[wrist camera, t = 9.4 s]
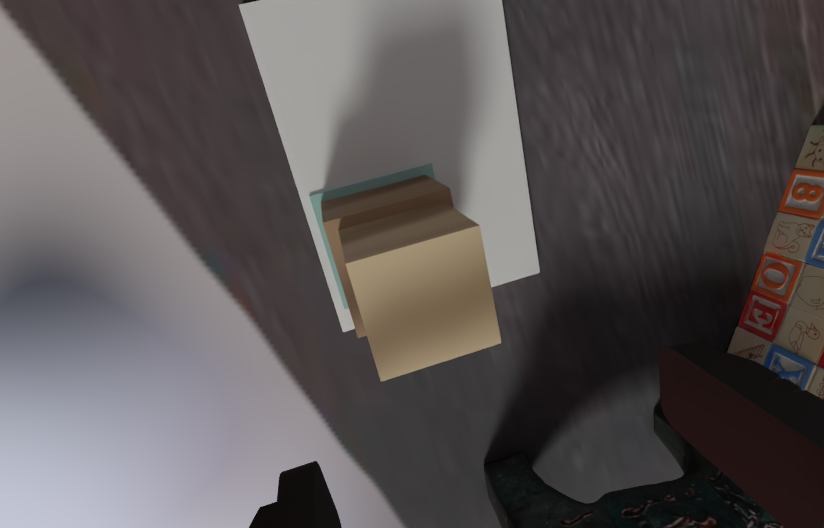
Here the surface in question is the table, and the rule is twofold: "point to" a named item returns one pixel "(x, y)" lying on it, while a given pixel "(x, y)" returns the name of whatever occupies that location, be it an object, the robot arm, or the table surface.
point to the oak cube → (421, 287)
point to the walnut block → (373, 208)
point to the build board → (398, 112)
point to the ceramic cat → (628, 496)
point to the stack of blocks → (791, 281)
